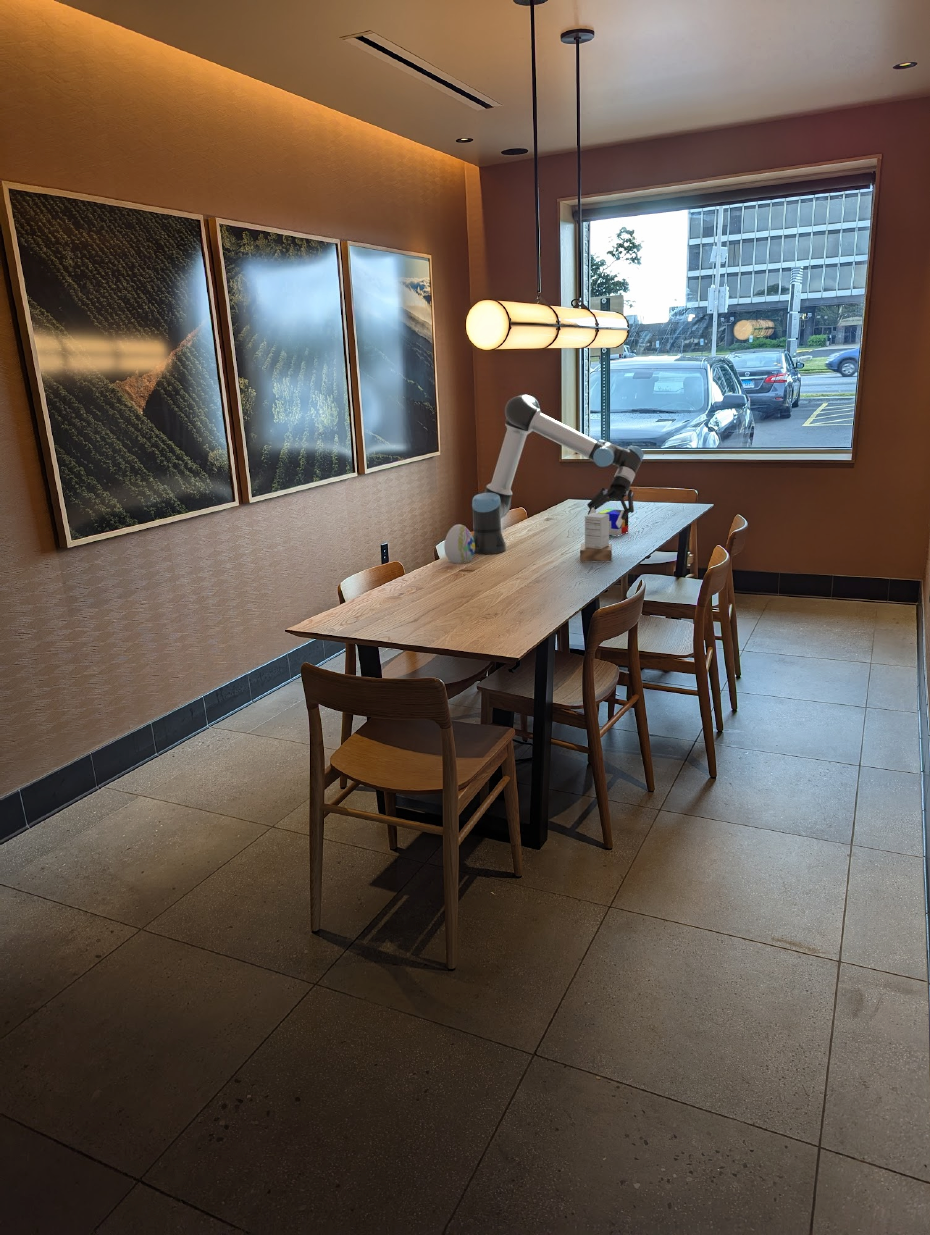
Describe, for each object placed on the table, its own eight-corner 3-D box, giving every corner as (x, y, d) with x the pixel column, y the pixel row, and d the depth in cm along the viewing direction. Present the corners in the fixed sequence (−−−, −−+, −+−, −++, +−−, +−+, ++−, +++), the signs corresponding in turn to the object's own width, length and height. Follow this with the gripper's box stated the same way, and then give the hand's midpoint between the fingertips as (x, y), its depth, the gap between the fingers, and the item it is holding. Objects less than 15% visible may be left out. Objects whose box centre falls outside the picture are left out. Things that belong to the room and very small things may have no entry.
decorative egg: (469, 565, 329) (468, 527, 325) (440, 564, 333) (438, 527, 329) (479, 558, 340) (478, 521, 336) (451, 557, 344) (449, 521, 340)
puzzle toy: (617, 536, 369) (618, 514, 367) (597, 534, 375) (597, 512, 372) (628, 532, 377) (628, 510, 374) (608, 530, 383) (608, 509, 380)
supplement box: (592, 543, 336) (592, 512, 332) (609, 545, 331) (609, 513, 328) (584, 547, 330) (584, 515, 326) (601, 549, 326) (601, 517, 322)
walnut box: (580, 562, 327) (580, 550, 326) (581, 555, 338) (581, 543, 337) (611, 562, 325) (611, 550, 324) (611, 555, 336) (611, 543, 335)
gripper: (653, 488, 332) (634, 532, 325) (599, 484, 347) (579, 526, 341) (647, 476, 326) (627, 521, 320) (592, 473, 342) (572, 516, 336)
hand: (602, 524), depth 331 cm, fingers open, 13 cm apart
